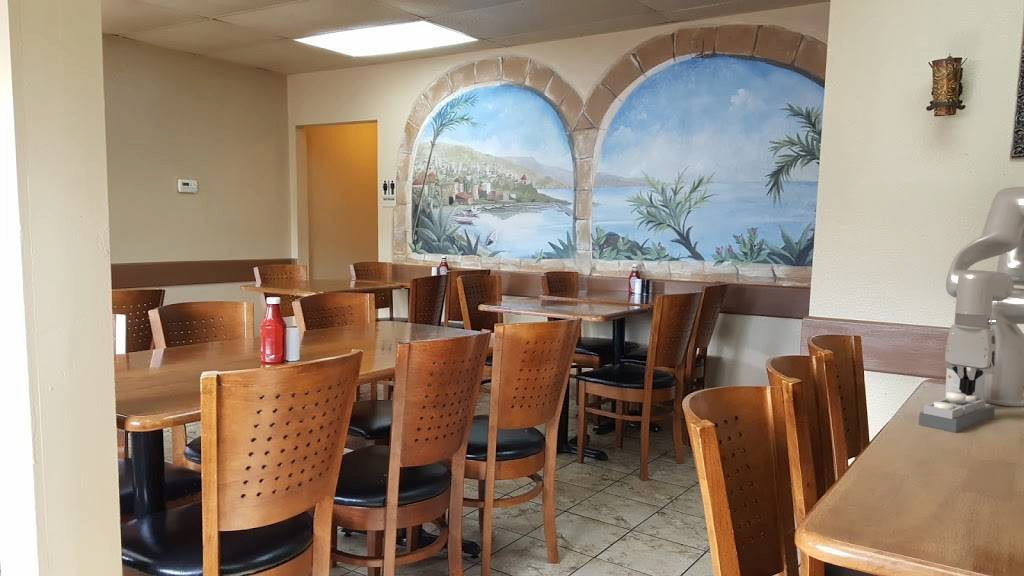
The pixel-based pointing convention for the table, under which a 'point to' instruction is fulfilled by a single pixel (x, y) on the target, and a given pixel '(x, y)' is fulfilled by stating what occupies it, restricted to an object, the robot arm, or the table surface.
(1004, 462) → the table surface
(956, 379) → the small box
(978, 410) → the button board
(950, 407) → the button
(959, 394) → the button middle
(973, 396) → the button
